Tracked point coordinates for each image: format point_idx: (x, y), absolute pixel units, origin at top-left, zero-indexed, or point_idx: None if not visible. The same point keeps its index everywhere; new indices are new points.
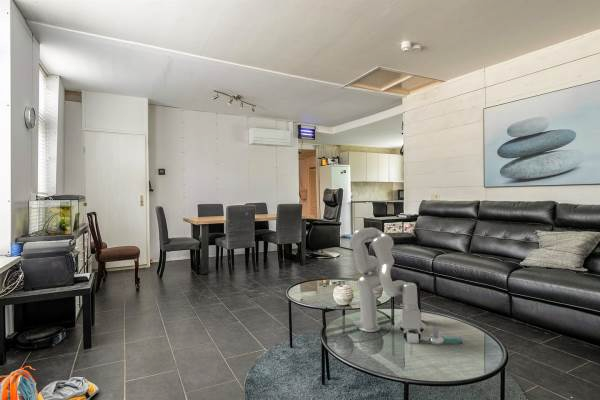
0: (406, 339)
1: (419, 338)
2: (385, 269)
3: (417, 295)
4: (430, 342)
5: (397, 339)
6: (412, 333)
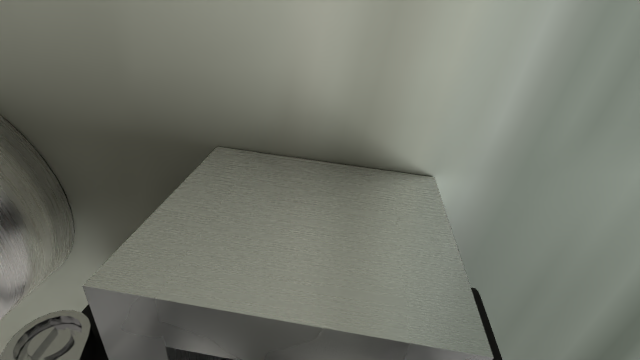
0: None
1: None
2: None
3: None
4: (1, 140)
5: (556, 312)
6: (275, 324)
